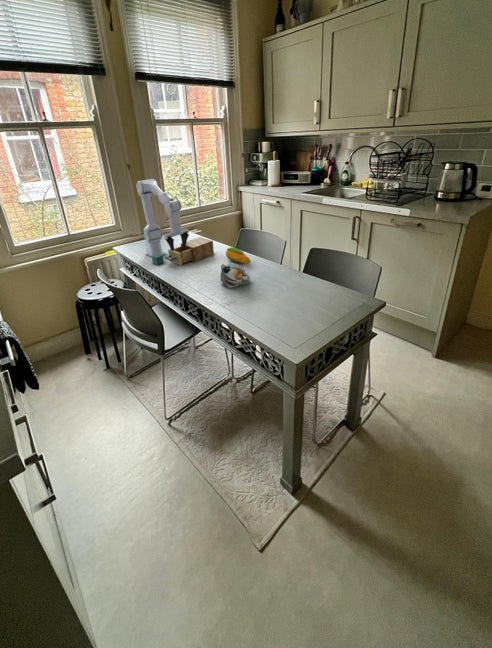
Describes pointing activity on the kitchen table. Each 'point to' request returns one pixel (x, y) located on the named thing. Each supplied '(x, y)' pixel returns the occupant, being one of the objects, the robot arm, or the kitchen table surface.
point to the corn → (237, 255)
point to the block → (157, 259)
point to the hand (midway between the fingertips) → (178, 248)
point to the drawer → (180, 255)
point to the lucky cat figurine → (233, 275)
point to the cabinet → (200, 248)
